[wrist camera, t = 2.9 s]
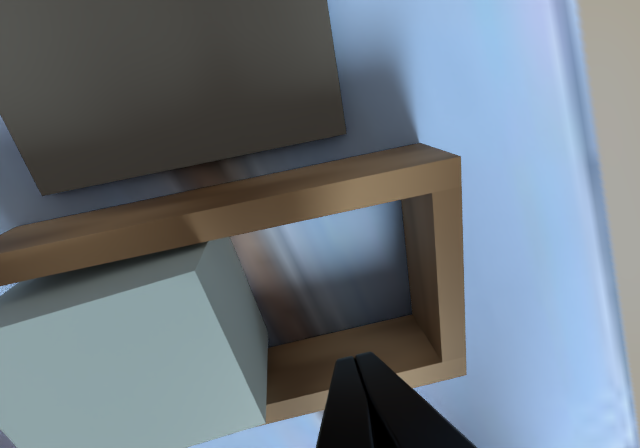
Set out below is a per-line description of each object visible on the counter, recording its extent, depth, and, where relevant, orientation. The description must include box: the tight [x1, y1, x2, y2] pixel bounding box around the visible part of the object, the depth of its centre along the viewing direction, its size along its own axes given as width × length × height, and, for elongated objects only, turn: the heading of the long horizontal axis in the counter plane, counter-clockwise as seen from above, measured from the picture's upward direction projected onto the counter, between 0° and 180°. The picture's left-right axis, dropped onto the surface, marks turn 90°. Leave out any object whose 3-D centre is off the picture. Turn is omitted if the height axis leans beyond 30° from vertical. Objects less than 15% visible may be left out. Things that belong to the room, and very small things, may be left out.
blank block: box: [0, 237, 268, 448], centre depth 10 cm, size 6×5×4 cm
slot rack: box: [0, 143, 466, 427], centre depth 11 cm, size 13×7×3 cm, turn 100°
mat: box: [0, 0, 347, 196], centre depth 9 cm, size 9×7×1 cm
